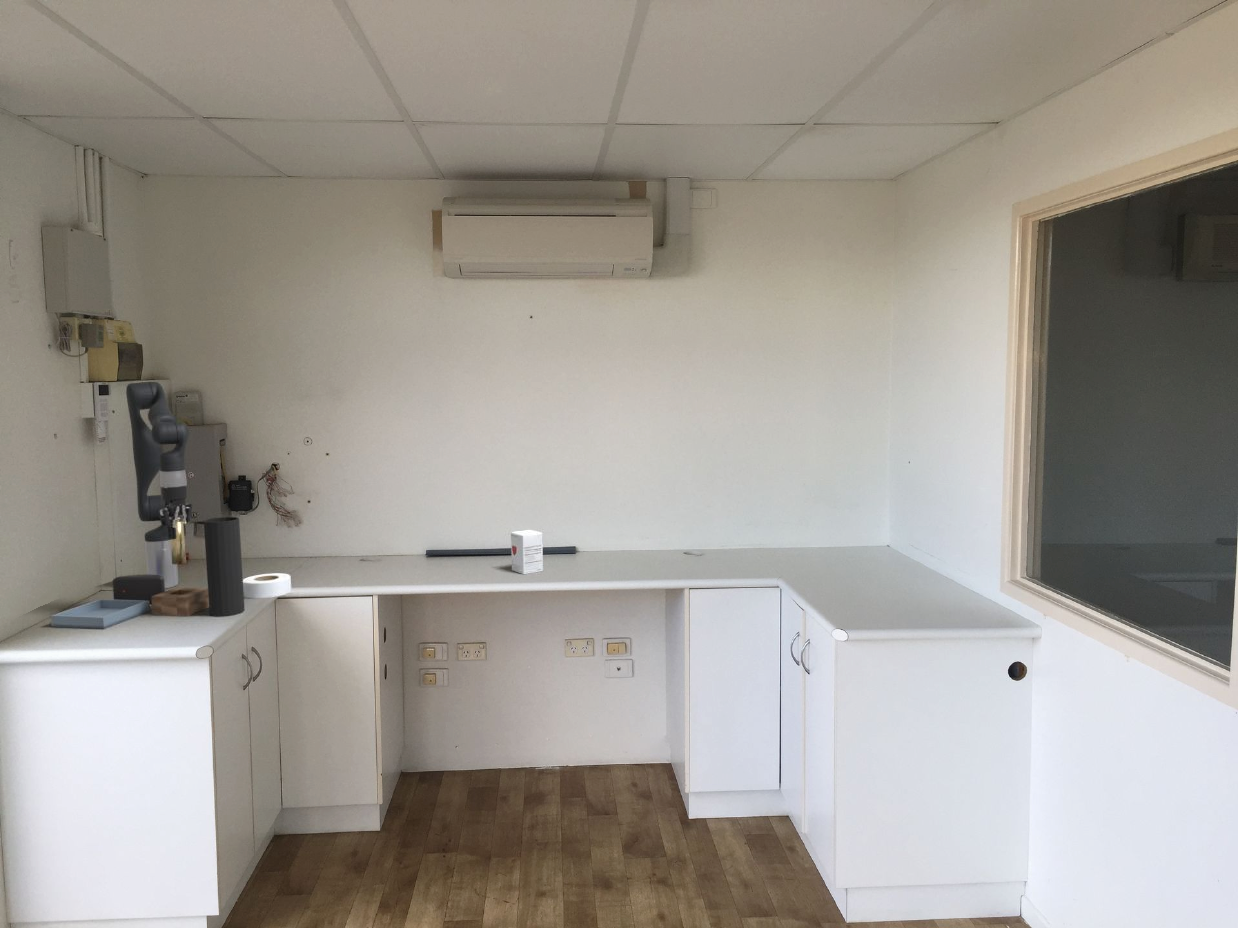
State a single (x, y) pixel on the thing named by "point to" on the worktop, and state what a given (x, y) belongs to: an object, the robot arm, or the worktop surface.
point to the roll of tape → (267, 585)
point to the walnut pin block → (180, 601)
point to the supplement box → (527, 551)
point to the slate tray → (100, 614)
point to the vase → (224, 566)
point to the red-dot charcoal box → (138, 587)
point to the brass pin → (178, 543)
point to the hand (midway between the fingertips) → (177, 537)
